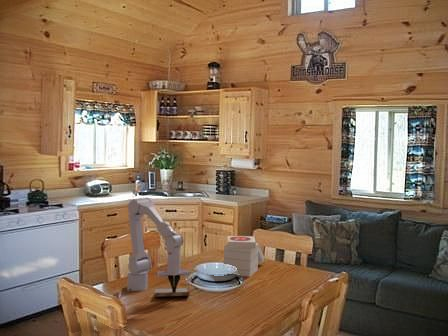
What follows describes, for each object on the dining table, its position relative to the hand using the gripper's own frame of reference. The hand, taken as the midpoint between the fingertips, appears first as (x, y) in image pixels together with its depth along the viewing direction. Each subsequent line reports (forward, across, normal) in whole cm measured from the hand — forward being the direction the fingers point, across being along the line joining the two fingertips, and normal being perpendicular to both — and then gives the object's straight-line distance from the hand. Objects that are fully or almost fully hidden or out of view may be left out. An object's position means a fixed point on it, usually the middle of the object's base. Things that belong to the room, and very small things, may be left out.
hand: (173, 291), depth 212 cm
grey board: (+4, -1, +10) cm, 11 cm away
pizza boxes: (+4, +42, +48) cm, 64 cm away
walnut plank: (+3, -1, +3) cm, 4 cm away
